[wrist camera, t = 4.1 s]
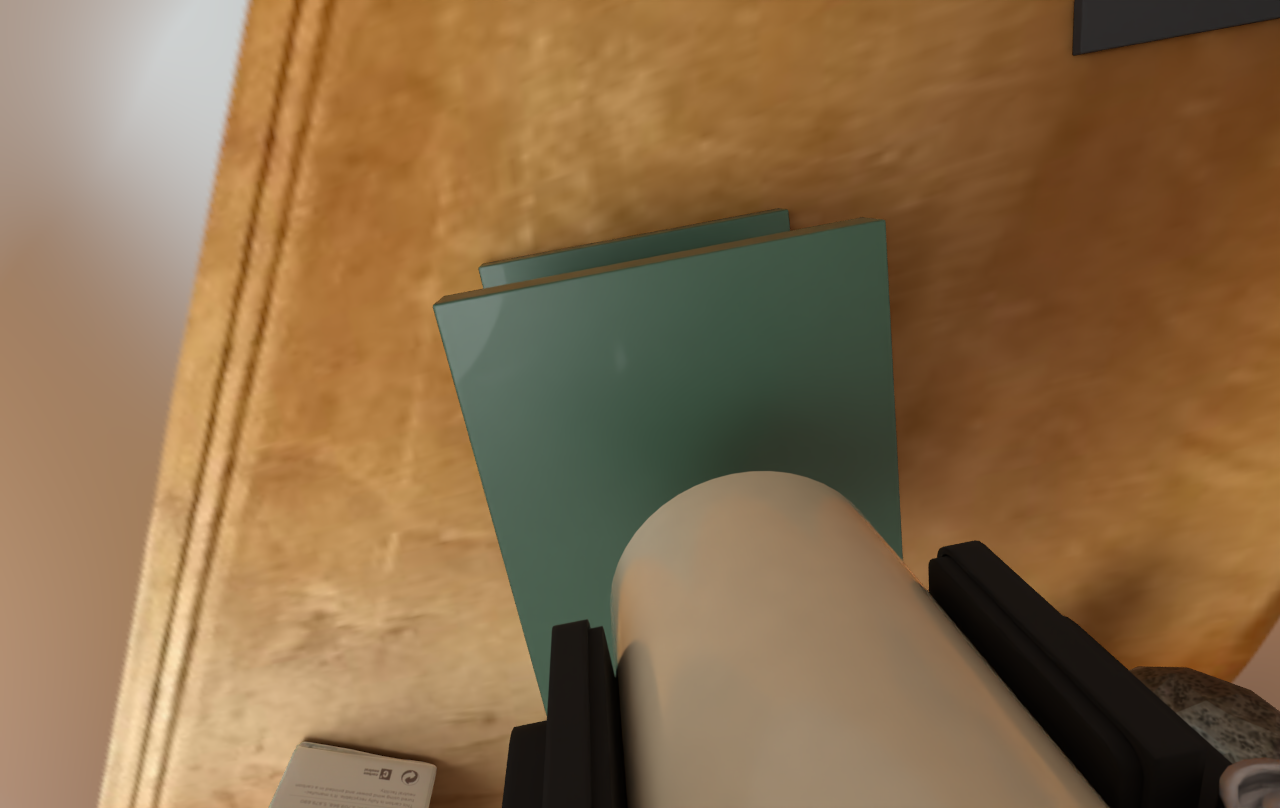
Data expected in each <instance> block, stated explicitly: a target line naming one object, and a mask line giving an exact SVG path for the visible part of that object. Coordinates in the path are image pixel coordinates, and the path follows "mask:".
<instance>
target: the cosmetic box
mask: <svg viewBox="0 0 1280 808" xmlns="http://www.w3.org/2000/svg"><path fill="white" fill-rule="evenodd" d="M436 770H437V768H436V766H435V765H433V764H430V763H426V762H421V761H413V760H402V759H396V758H390V757H385V756H380V755H375V754H370V753H365V752H361V751H357V750H353V749H347V748H340V747H336V746H329V745H323V744H317V743H312V742H302V743H300V744H299V745H297V747H296V749H295V750H294V752H293V754H292V757H291V759H290V761H289V764H288V766H287V768H286V770H285V772H284V775H283V777H282V779H281V781H280V783H279V785H278V788H277V790H276V792H275V794H274V797H273V799H272V801H271V803H270V806H269V808H429V804H430V799H431V795H432V790H433V785H434V781H435V776H436Z"/></svg>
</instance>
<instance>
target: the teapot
mask: <svg viewBox="0 0 1280 808" xmlns="http://www.w3.org/2000/svg"><path fill="white" fill-rule="evenodd" d="M1129 671H1130V672H1131V673H1132V674H1133V675H1134V676H1135V677H1137V678H1138V679H1139V680H1140V681H1141V682H1142V683H1143V684H1144V685H1145V686H1147V687H1148V688H1149V689H1150V690H1151V691H1152V692H1153V693H1154V694H1155V695H1157V696H1158V697H1159V698H1160V699H1161V700H1162V701H1163V702H1164V703H1165V704H1167V705H1168V706H1169V707H1170V708H1171V709H1172V710H1173V711H1174V712H1175V713H1177V714H1178V715H1179V716H1180V717H1181V718H1182V719H1183V720H1184V721H1185V722H1187V723H1188V724H1189V725H1190V726H1191V727H1192V728H1193V729H1194V730H1195V731H1197V732H1198V733H1199V734H1200V735H1201V736H1202V737H1203V738H1204V739H1205V740H1207V741H1208V742H1209V743H1210V744H1211V745H1212V746H1213V747H1214V748H1215V749H1217V750H1218V751H1219V752H1220V753H1221V754H1222V755H1223V756H1224V757H1225V758H1227V759H1228V760H1229V761H1230V762H1231V763H1232V764H1234V763H1236V762H1238V761H1241V760H1243V759H1254V758H1271V759H1279V760H1280V711H1278V710H1277V709H1276V708H1274V707H1273V706H1272V705H1270V704H1269V703H1268V702H1266V701H1265V700H1264V699H1262V698H1261V697H1259V696H1258V695H1257V694H1255V693H1254V692H1253V691H1251V690H1248V689H1246V688H1243V687H1240V686H1237V685H1235V684H1232V683H1229V682H1227V681H1224V680H1221V679H1218V678H1216V677H1213V676H1210V675H1207V674H1204V673H1201V672H1199V671H1196V670H1193V669H1190V668H1184V667H1136V668H1133V669H1131V670H1129Z"/></svg>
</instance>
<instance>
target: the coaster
mask: <svg viewBox="0 0 1280 808" xmlns="http://www.w3.org/2000/svg"><path fill="white" fill-rule="evenodd" d="M1277 18H1280V0H1075V2H1074V30H1073V55H1080V54H1085V53H1091V52H1096V51H1102V50H1107V49H1112V48H1118V47H1123V46H1129V45H1134V44H1140V43H1145V42H1151V41H1156V40H1162V39H1167V38H1173V37H1178V36H1184V35H1189V34H1195V33H1200V32H1206V31H1211V30H1217V29H1222V28H1228V27H1233V26H1239V25H1244V24H1249V23H1255V22H1260V21H1266V20H1271V19H1277Z"/></svg>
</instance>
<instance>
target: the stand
mask: <svg viewBox="0 0 1280 808" xmlns="http://www.w3.org/2000/svg"><path fill="white" fill-rule="evenodd" d="M479 273H480V277H481V281H482V285H483V289H479V290H474V291H469V292H463V293H458V294H453V295H448V296H444V297H442V298H441V299H440V300H439V301H438V302H436V303H435V304H434V305H433V309H434V313H435V317H436V320H437V324H438V327H439V331H440V334H441V338H442V342H443V345H444V349H445V352H446V356H447V360H448V363H449V367H450V370H451V374H452V378H453V381H454V385H455V388H456V392H457V395H458V399H459V403H460V406H461V410H462V413H463V417H464V421H465V424H466V428H467V431H468V435H469V439H470V442H471V446H472V449H473V453H474V456H475V460H476V464H477V467H478V471H479V474H480V478H481V482H482V485H483V489H484V492H485V496H486V500H487V503H488V507H489V510H490V514H491V517H492V521H493V525H494V528H495V532H496V535H497V539H498V543H499V546H500V550H501V553H502V557H503V561H504V564H505V568H506V571H507V575H508V579H509V582H510V586H511V589H512V593H513V596H514V600H515V604H516V607H517V611H518V614H519V618H520V622H521V625H522V629H523V632H524V636H525V640H526V643H527V647H528V650H529V654H530V657H531V661H532V665H533V668H534V672H535V675H536V679H537V683H538V686H539V690H540V693H541V697H542V701H543V704H544V708H545V711H546V715H547V709H548V691H549V673H550V655H551V636H552V627H553V626H556V625H560V624H565V623H570V622H575V621H580V620H585V619H588V621H589V623H590V627H591V628H595V627H599V626H603V628H604V632H605V636H606V640H607V644H608V649H609V653H610V657H611V661H612V666H613V670H614V674H615V669H614V656H613V643H612V630H611V616H610V594H611V588H612V582H613V577H614V574H615V571H616V568H617V565H618V562H619V560H620V558H621V556H622V554H623V552H624V550H625V548H626V546H627V545H628V543H629V542H630V540H631V539H632V537H633V536H634V534H635V533H636V532H637V530H638V529H639V528H640V527H641V526H642V525H643V524H644V522H645V521H646V520H647V519H648V518H649V517H650V516H651V515H652V514H653V513H654V512H656V511H657V510H658V509H659V508H660V507H661V506H662V505H664V504H665V503H667V502H668V501H670V500H671V499H672V498H674V497H675V496H677V495H678V494H680V493H682V492H684V491H686V490H688V489H690V488H691V487H693V486H695V485H698V484H700V483H703V482H706V481H708V480H711V479H714V478H717V477H721V476H725V475H729V474H734V473H741V472H749V471H775V472H784V473H791V474H795V475H799V476H803V477H807V478H810V479H813V480H815V481H818V482H820V483H823V484H825V485H827V486H828V487H830V488H832V489H834V490H836V491H837V492H839V493H840V494H842V495H843V496H844V497H846V498H847V499H848V500H849V501H851V502H852V503H853V504H854V505H855V506H856V507H857V508H858V509H859V510H860V511H861V512H862V514H863V515H864V516H865V517H866V518H867V519H868V521H869V522H870V523H871V524H872V525H873V527H874V528H875V529H876V530H877V531H878V532H879V534H880V535H881V536H882V537H883V538H884V540H885V541H886V542H887V543H888V544H889V546H890V547H891V548H892V549H893V550H894V551H895V553H896V554H897V555H898V556H899V557H900V559H901V560H902V561H903V554H902V535H901V515H900V496H899V476H898V457H897V437H896V418H895V398H894V378H893V359H892V339H891V320H890V300H889V281H888V261H887V242H886V222H885V220H883V219H874V218H865V217H861V218H856V219H851V220H845V221H840V222H835V223H829V224H824V225H819V226H813V227H808V228H803V229H798V230H792V231H790V223H789V213H788V210H787V209H779V208H778V209H773V210H767V211H762V212H757V213H751V214H746V215H740V216H735V217H730V218H724V219H719V220H714V221H708V222H703V223H698V224H692V225H687V226H682V227H676V228H671V229H666V230H660V231H655V232H650V233H644V234H639V235H634V236H628V237H623V238H618V239H612V240H607V241H602V242H596V243H591V244H586V245H580V246H575V247H570V248H564V249H559V250H554V251H548V252H543V253H538V254H532V255H527V256H522V257H516V258H511V259H506V260H500V261H495V262H490V263H484V264H482V265H481V266H480V267H479Z"/></svg>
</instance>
